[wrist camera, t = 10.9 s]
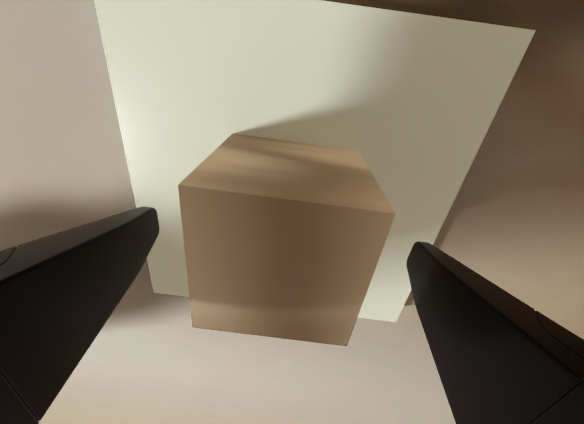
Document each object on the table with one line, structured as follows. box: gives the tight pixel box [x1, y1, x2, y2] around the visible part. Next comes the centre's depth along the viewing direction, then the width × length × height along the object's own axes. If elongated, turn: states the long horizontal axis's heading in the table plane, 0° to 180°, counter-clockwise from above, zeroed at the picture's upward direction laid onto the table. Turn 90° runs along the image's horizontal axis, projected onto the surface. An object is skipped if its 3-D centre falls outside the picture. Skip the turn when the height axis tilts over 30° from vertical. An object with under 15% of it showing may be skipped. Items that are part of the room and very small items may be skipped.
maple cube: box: [178, 134, 396, 346], centre depth 9 cm, size 5×5×5 cm
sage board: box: [94, 0, 536, 322], centre depth 12 cm, size 14×14×1 cm
